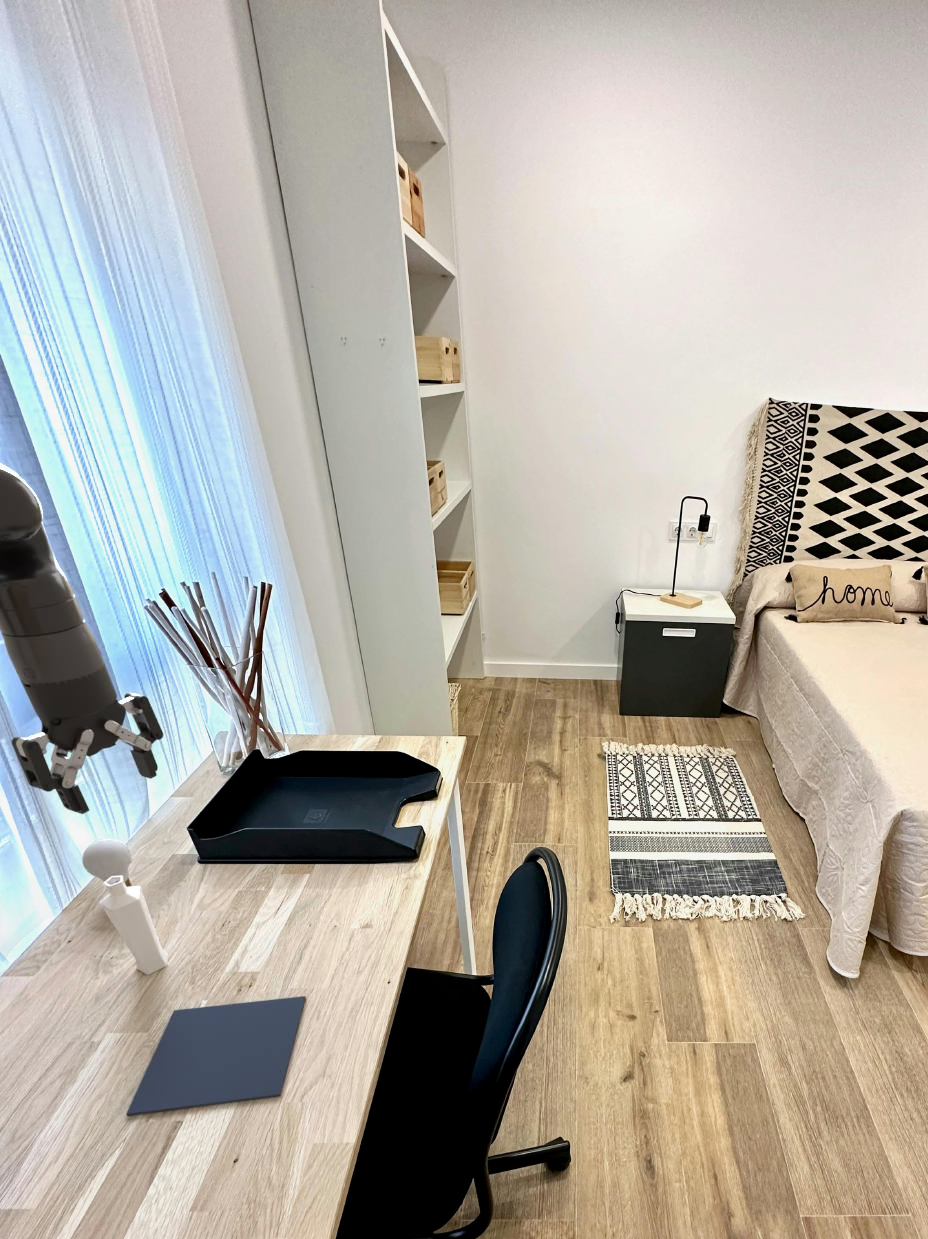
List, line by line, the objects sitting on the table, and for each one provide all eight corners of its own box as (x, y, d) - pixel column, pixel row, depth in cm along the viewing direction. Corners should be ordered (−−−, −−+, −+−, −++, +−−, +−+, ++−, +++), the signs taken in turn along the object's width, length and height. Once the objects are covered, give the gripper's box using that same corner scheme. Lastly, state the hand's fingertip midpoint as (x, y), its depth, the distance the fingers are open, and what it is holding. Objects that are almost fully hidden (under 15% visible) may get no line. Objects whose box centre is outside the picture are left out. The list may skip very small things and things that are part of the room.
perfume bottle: (134, 958, 91) (93, 875, 83) (170, 947, 93) (133, 865, 85) (132, 981, 87) (88, 897, 79) (169, 970, 89) (131, 887, 81)
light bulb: (92, 901, 100) (65, 849, 95) (126, 877, 105) (103, 827, 100) (121, 910, 99) (95, 858, 93) (154, 886, 103) (132, 835, 98)
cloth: (127, 1116, 72) (125, 1114, 72) (174, 1012, 83) (173, 1010, 83) (280, 1096, 74) (279, 1094, 74) (306, 998, 86) (305, 995, 86)
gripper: (102, 640, 77) (148, 759, 85) (-36, 684, 65) (33, 816, 74) (147, 651, 74) (190, 772, 83) (11, 697, 63) (77, 832, 72)
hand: (116, 793), depth 79 cm, fingers open, 8 cm apart
